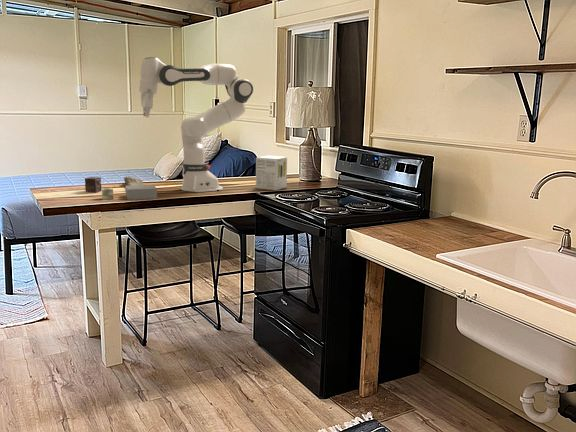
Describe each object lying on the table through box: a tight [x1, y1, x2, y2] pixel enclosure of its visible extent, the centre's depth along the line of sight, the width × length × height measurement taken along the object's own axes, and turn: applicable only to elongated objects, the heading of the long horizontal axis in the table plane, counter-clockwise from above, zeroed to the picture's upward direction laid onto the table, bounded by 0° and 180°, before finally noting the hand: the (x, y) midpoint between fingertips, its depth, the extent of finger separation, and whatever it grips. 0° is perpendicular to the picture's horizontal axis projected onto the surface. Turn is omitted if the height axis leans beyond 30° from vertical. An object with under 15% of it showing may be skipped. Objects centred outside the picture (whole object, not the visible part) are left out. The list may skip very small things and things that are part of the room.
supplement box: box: [255, 155, 288, 191], centre depth 315 cm, size 13×13×18 cm
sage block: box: [101, 187, 114, 201], centre depth 275 cm, size 5×5×5 cm
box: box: [84, 176, 102, 194], centre depth 293 cm, size 6×6×7 cm
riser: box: [125, 184, 158, 201], centre depth 281 cm, size 14×12×5 cm
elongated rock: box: [123, 176, 145, 186], centre depth 310 cm, size 35×5×10 cm
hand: (146, 116), depth 289 cm, fingers open, 8 cm apart
